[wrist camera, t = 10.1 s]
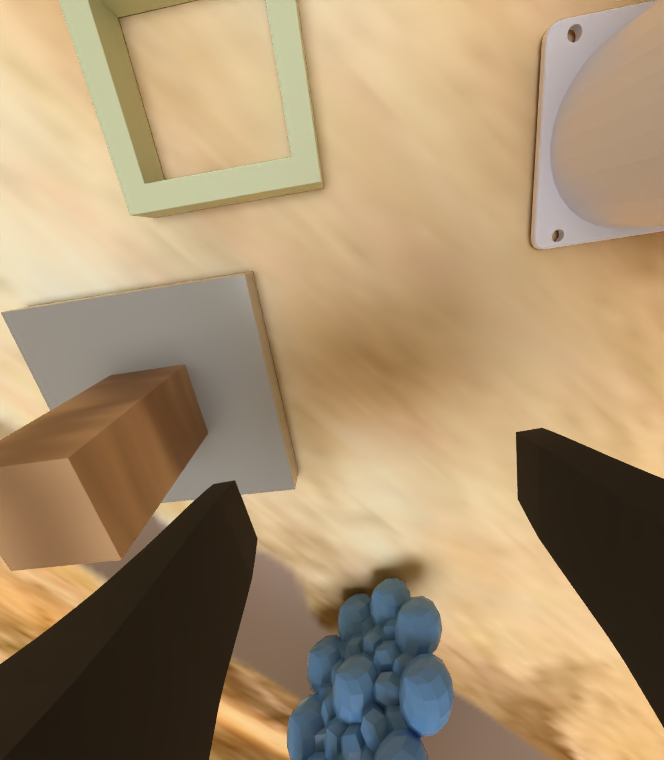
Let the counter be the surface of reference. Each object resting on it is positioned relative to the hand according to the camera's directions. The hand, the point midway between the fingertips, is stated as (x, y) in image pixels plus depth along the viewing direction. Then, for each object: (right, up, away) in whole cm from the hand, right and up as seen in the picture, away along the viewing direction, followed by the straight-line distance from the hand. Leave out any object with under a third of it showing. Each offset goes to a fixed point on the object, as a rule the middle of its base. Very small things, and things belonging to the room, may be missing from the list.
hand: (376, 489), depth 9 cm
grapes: (+2, -13, +17) cm, 22 cm away
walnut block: (-10, +2, +9) cm, 14 cm away
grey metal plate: (-10, +2, +11) cm, 15 cm away
